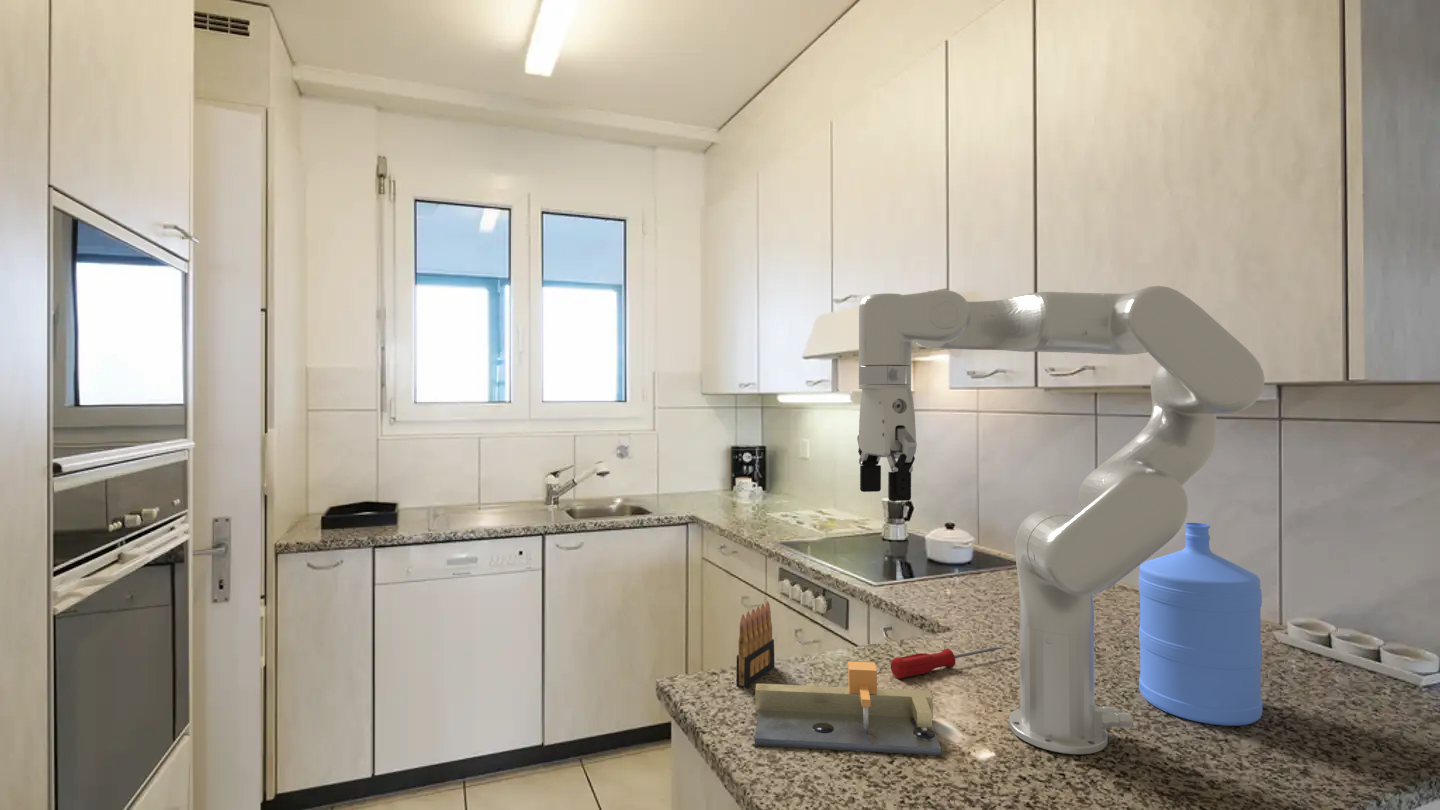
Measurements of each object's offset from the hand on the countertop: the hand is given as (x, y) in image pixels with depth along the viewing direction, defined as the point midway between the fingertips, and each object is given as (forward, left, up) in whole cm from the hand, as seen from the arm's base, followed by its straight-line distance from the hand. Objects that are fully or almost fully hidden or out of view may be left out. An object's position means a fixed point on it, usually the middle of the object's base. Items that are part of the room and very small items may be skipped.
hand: (884, 495), depth 101 cm
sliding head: (+3, +1, -32) cm, 32 cm away
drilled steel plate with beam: (+6, +1, -34) cm, 34 cm away
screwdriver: (-14, -23, -34) cm, 44 cm away
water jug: (-49, -12, -34) cm, 60 cm away
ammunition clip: (+20, -16, -34) cm, 42 cm away
